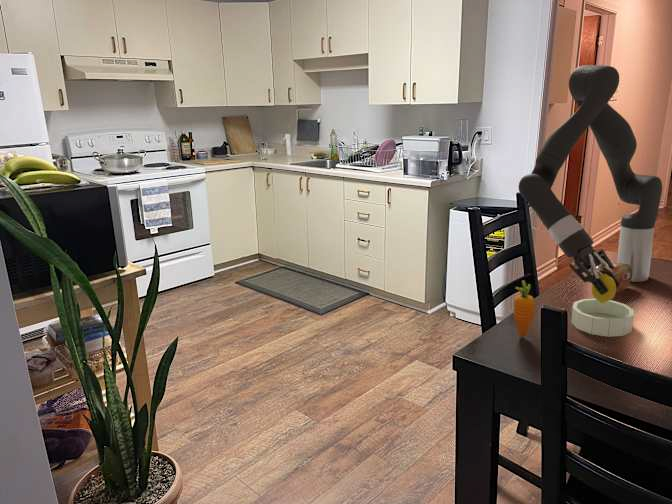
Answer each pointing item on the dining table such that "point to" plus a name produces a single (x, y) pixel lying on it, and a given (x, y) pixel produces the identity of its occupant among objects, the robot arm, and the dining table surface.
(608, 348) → the dining table surface
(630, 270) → the tin
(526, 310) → the carrot
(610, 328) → the bowl
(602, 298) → the lemon
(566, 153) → the robot arm
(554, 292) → the dining table surface
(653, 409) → the dining table surface
